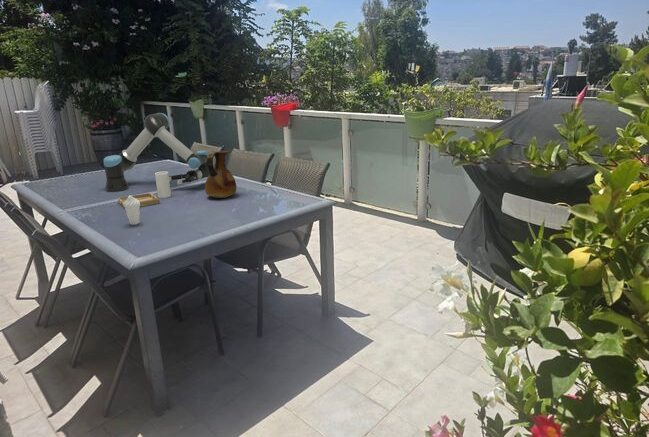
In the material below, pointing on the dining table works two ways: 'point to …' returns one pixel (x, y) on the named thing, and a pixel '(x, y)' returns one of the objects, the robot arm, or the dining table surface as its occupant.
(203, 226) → the dining table surface
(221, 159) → the ceramic pitcher
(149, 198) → the tray
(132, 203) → the soft serve ice cream cone
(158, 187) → the cup
